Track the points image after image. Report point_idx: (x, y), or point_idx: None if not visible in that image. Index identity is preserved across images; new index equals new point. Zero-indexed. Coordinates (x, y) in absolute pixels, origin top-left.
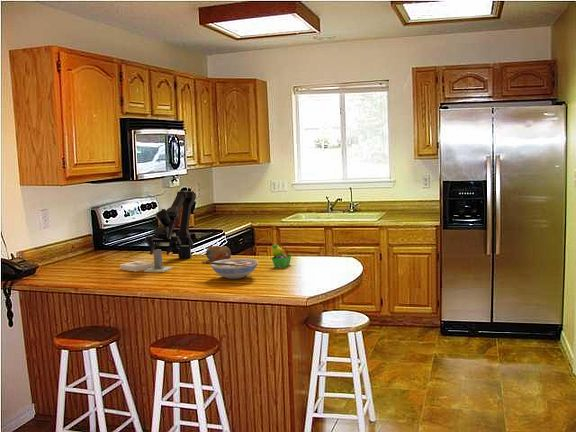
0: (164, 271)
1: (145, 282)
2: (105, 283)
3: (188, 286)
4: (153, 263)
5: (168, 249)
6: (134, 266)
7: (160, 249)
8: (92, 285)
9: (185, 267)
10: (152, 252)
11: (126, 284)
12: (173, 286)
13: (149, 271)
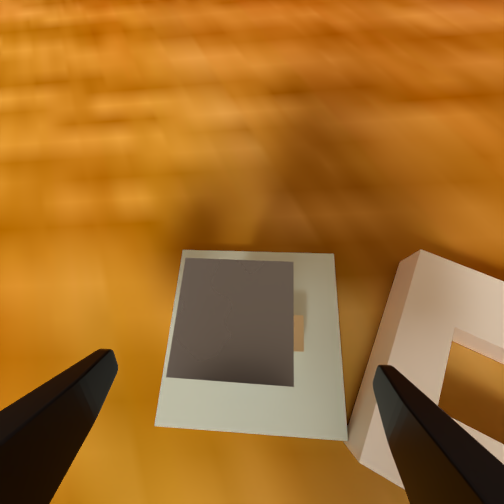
0: (182, 264)
1: (198, 55)
2: (369, 29)
3: (15, 30)
4: (358, 451)
5: (19, 408)
6: (442, 263)
7: (174, 343)
8: (401, 4)
9: None
10: (392, 441)
11: (265, 27)
12: (69, 25)
13: (289, 254)
